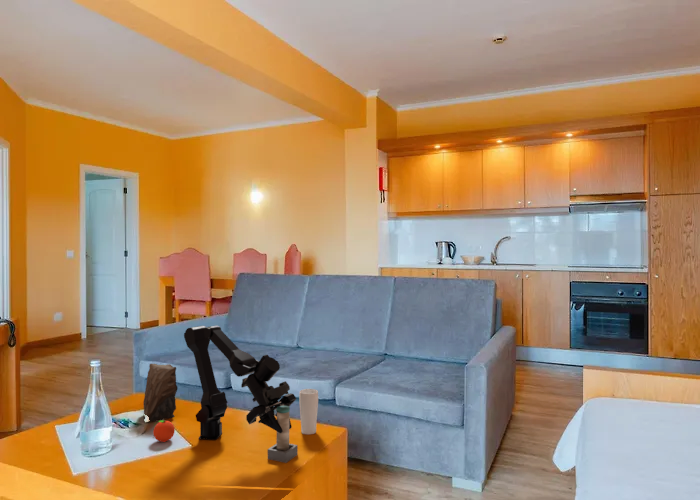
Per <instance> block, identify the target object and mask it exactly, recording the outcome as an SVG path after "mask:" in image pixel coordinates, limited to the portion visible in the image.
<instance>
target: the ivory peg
mask: <svg viewBox="0 0 700 500" xmlns="http://www.w3.org/2000/svg"><path fill="white" fill-rule="evenodd" d="M290 411H291V408H290V406H279V407H277V411H276V413H277V417H276V419H277V421H278V423H279V425H280V426H281V428H282V431H283V432H282V433H279V432H277V431H276V443H275V444H276V450H280V451H284V452H286V451H287V450H289V444H290V429H289V418H290Z"/></svg>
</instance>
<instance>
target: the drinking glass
mask: <svg viewBox="0 0 700 500" xmlns="http://www.w3.org/2000/svg"><path fill="white" fill-rule="evenodd" d="M298 397H299V399H298V400H299V401H298V402H299V413H300V414H299V417H300V426H301V427H300V430H301V434H303V435H315V434H316V432H317V421H318V419H317V418H318V411H319V391H318V390H317V389H314V388H304V389H301V390H299V396H298Z"/></svg>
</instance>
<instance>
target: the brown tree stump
mask: <svg viewBox="0 0 700 500" xmlns="http://www.w3.org/2000/svg"><path fill="white" fill-rule="evenodd" d="M148 367H149V370H148V371H147V377H146V385H145V390H144V398H143V415H144V414H145V415H147V416H148V417H149V420H150V421H153V422H157V421H156V420H158V421H161V420H162V419H164V420H168V419H172V418H175V416H176V415H174V413H175V411H176V410H177V404H176V395H177V391H178V385H177V374H176V373H177V372H176V371H177V367H176V366H173V365H171V364H169V363H167V364H158V363H149V366H148Z"/></svg>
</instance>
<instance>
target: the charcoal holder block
mask: <svg viewBox="0 0 700 500" xmlns="http://www.w3.org/2000/svg"><path fill="white" fill-rule="evenodd" d="M298 449H299V448H298V444H294V443H289V450H287V451H286V452H284V451H280V450H276V443H275V444H274V445H272V446H270V447H269V448H267V460H271V461H274V462H275V461H276V462H278V463H279V462H281V463H284V464H287V463H288V462H290V461H291V460H292V459H294V458H296V457H297V456H298V455H299V454H298Z"/></svg>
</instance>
